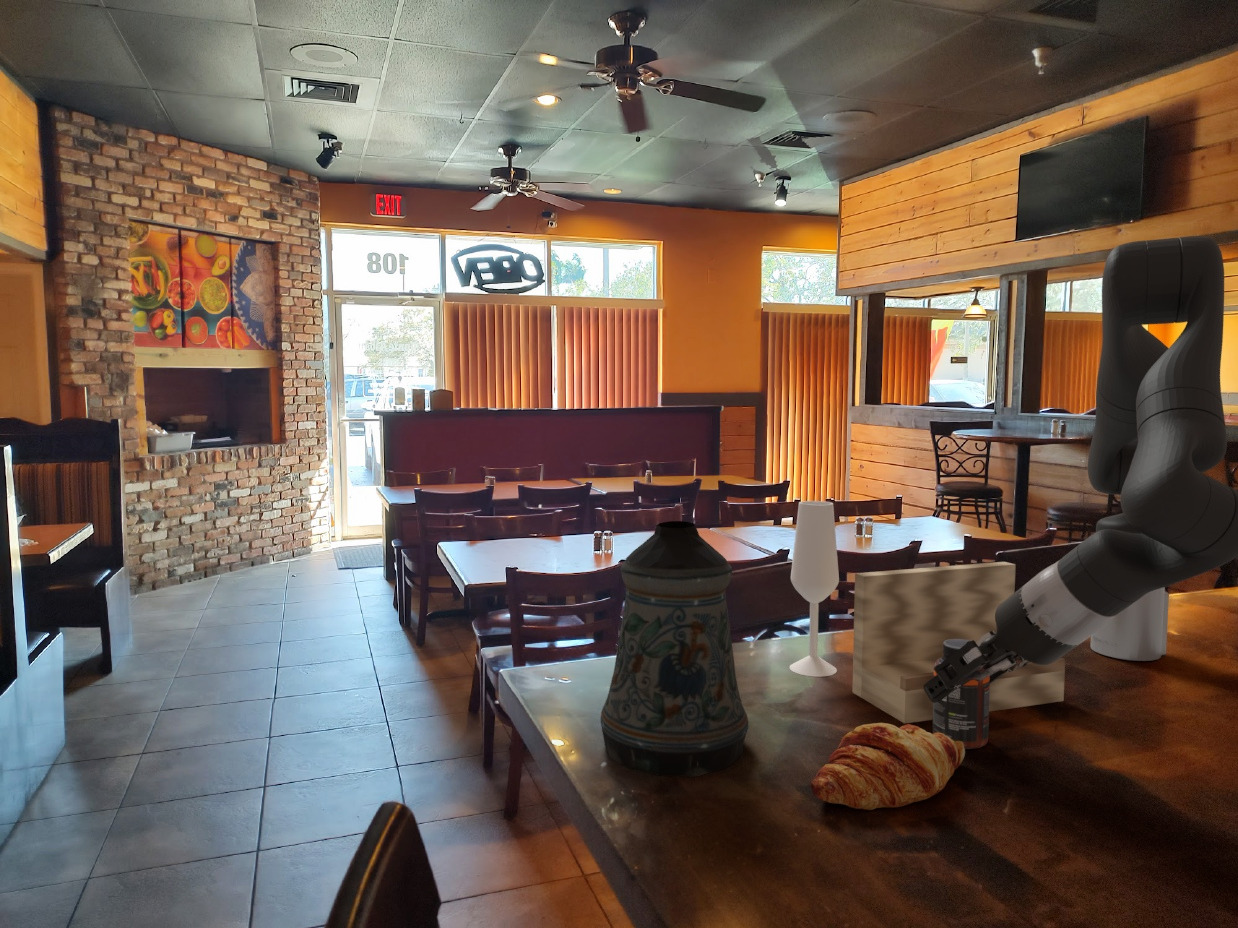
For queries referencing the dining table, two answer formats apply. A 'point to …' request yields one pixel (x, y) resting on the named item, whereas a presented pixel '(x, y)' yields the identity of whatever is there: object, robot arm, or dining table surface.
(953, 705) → the supplement bottle
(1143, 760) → the dining table surface
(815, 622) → the champagne flute
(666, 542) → the beer stein
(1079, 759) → the dining table surface
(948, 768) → the croissant
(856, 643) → the board
